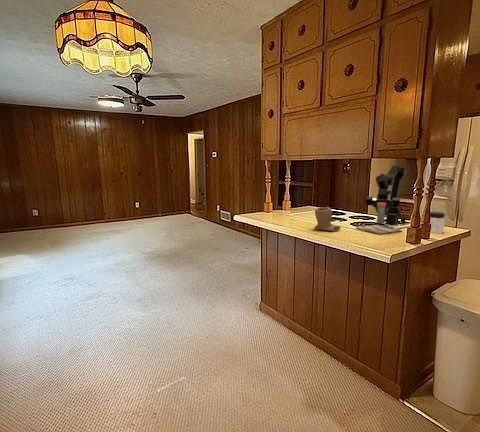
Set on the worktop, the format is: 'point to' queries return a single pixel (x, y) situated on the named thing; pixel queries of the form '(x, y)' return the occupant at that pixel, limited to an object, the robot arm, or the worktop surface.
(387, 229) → the brown framed square board
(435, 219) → the jar
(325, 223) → the brown boot-shaped piece
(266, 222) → the worktop surface
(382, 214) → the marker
